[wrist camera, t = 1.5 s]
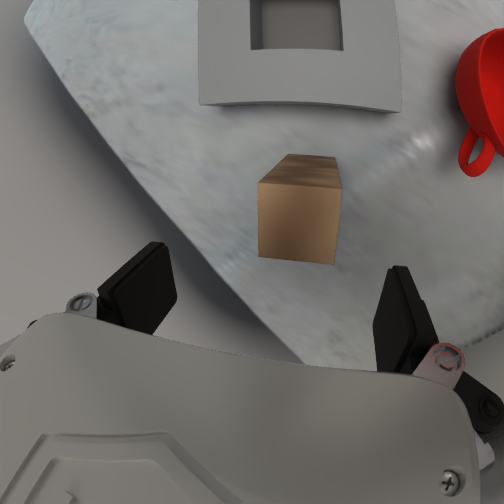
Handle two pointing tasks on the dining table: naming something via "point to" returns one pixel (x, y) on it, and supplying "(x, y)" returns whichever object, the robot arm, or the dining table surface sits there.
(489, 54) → the ceramic cup
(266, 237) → the brown rectangular block
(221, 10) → the well block
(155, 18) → the dining table surface
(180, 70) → the dining table surface
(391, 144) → the dining table surface
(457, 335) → the dining table surface
